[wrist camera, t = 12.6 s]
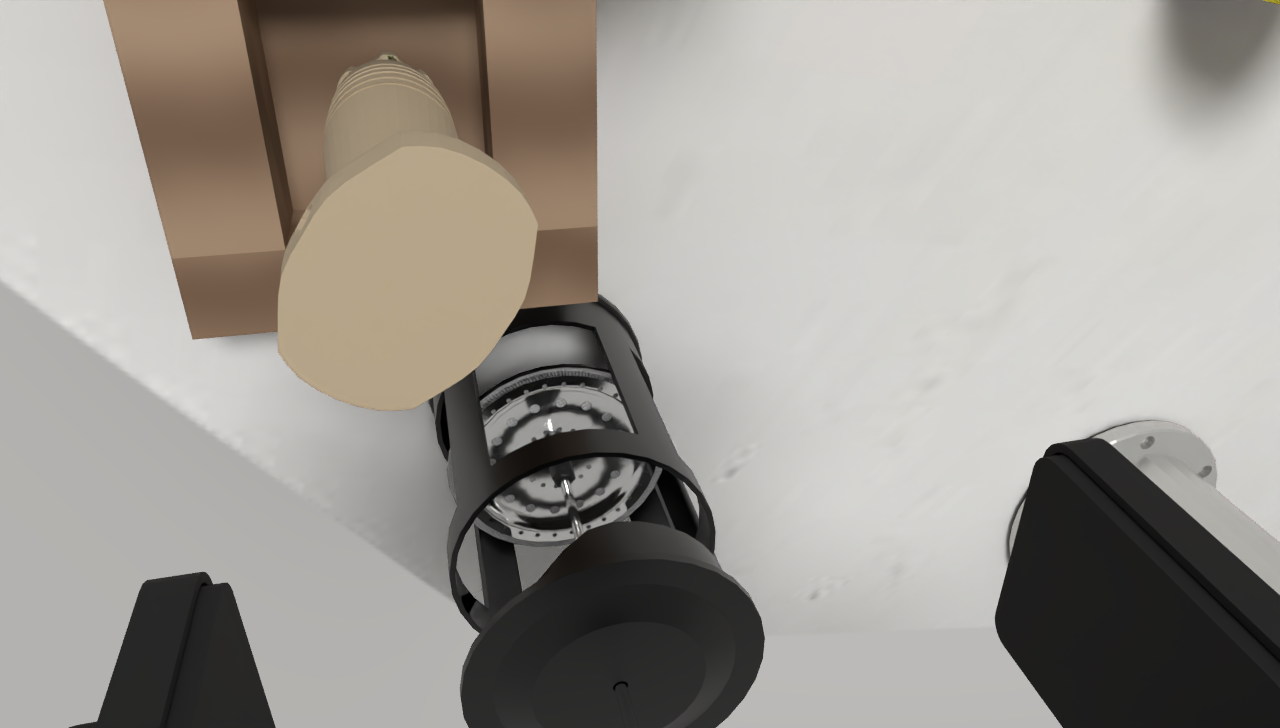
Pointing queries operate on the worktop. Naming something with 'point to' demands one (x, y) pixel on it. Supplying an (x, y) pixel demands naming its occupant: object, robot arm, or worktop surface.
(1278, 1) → the supplement bottle
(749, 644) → the french press
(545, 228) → the socket block
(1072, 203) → the worktop surface
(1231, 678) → the robot arm
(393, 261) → the handle
